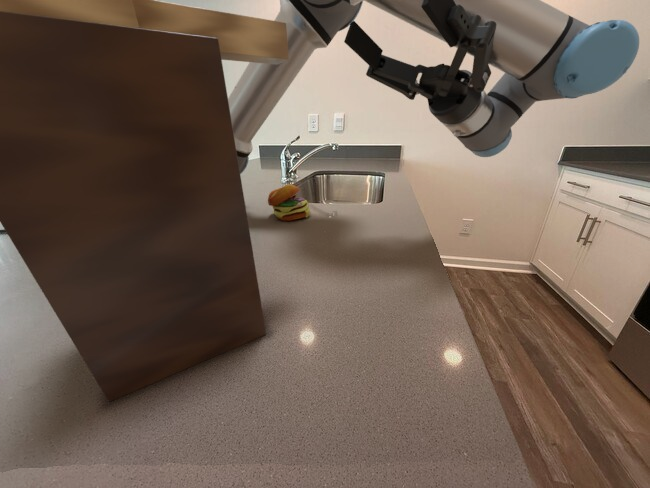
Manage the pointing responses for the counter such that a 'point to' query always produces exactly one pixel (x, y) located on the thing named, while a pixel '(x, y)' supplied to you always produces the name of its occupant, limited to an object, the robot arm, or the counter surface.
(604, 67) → the robot arm
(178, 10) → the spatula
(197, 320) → the stand
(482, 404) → the counter surface
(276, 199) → the cheeseburger
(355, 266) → the counter surface
